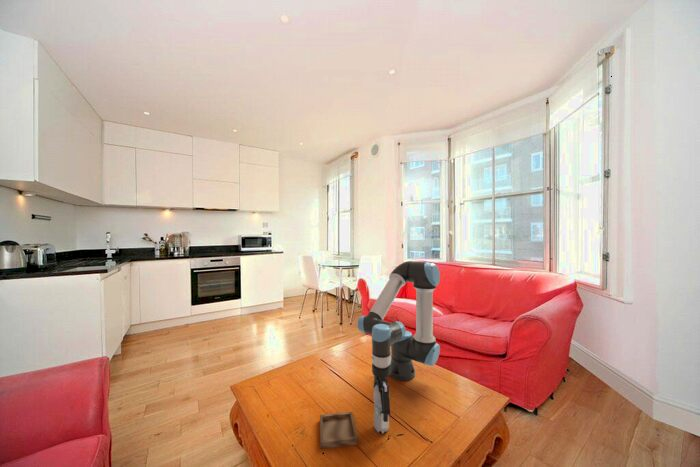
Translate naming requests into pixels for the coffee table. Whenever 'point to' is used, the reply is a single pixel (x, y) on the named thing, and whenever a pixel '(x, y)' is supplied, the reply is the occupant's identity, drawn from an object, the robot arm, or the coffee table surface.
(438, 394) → the coffee table surface
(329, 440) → the tray
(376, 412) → the bottle
